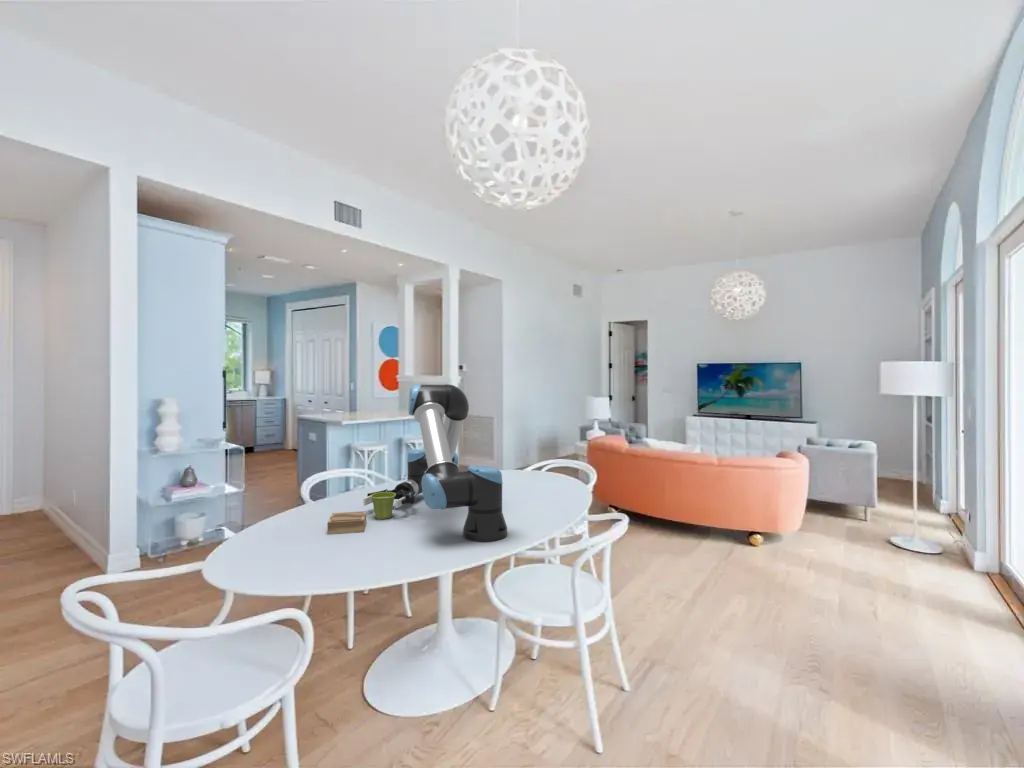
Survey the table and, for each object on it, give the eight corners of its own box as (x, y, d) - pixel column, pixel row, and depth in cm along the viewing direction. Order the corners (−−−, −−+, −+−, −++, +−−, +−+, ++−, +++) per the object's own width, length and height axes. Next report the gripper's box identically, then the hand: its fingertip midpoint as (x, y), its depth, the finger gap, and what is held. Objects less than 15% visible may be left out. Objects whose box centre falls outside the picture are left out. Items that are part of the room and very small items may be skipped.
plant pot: (389, 521, 188) (389, 498, 187) (366, 520, 190) (366, 497, 189) (400, 514, 197) (399, 492, 197) (377, 513, 199) (377, 491, 199)
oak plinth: (363, 531, 175) (363, 519, 175) (327, 534, 173) (327, 521, 173) (366, 521, 187) (366, 510, 187) (332, 524, 185) (332, 512, 184)
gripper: (433, 501, 208) (410, 515, 188) (379, 497, 215) (351, 510, 194) (433, 483, 208) (410, 495, 188) (379, 480, 215) (351, 491, 194)
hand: (380, 503), depth 191 cm, fingers open, 13 cm apart
